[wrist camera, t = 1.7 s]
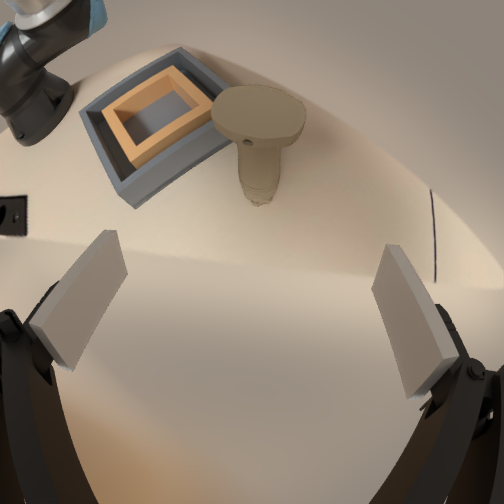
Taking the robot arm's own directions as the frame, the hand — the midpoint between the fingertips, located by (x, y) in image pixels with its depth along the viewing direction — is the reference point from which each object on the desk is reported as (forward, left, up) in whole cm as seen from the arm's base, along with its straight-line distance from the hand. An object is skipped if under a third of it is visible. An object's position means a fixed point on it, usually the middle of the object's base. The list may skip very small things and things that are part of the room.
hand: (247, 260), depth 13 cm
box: (-25, +3, -17) cm, 30 cm away
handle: (-8, +7, -17) cm, 20 cm away
